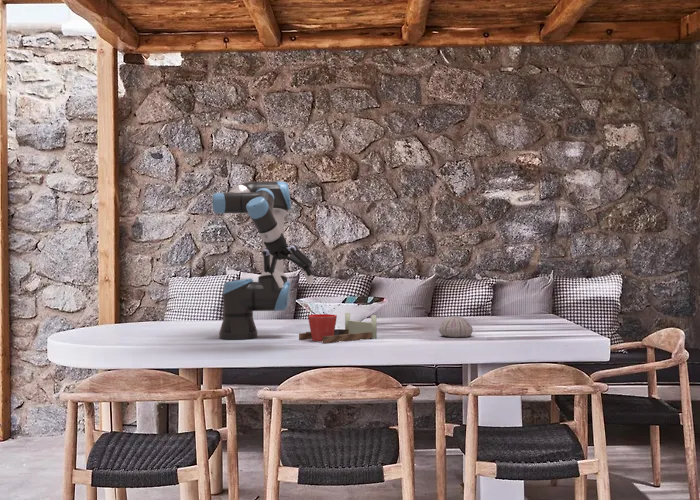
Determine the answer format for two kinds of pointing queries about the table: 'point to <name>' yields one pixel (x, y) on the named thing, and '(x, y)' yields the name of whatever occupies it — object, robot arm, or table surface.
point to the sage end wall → (361, 326)
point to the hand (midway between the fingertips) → (296, 283)
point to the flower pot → (322, 325)
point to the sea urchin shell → (455, 327)
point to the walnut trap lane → (338, 336)
